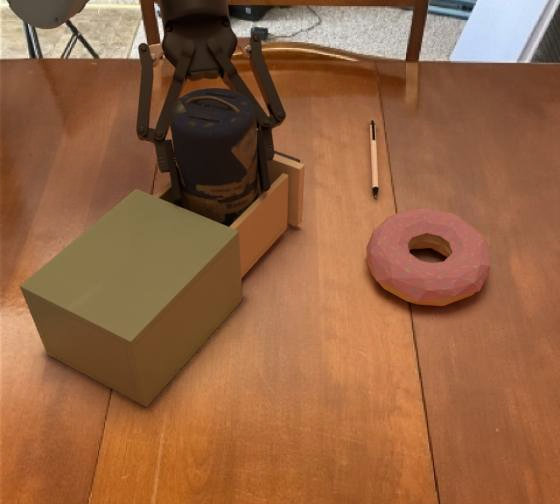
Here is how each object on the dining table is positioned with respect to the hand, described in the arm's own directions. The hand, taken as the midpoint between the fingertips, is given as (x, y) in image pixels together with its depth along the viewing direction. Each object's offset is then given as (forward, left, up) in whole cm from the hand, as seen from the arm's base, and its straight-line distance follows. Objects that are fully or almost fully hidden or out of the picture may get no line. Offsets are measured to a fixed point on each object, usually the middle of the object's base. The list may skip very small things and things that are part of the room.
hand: (222, 195), depth 78 cm
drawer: (-2, +5, -10) cm, 11 cm away
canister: (-2, +2, -8) cm, 9 cm away
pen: (+6, +30, -11) cm, 33 cm away
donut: (+22, +12, -11) cm, 28 cm away
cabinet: (-2, -14, -11) cm, 18 cm away
